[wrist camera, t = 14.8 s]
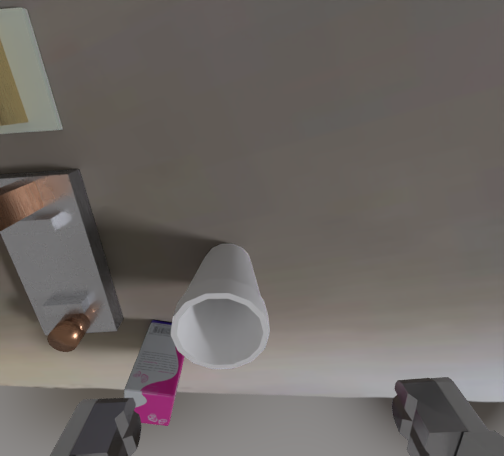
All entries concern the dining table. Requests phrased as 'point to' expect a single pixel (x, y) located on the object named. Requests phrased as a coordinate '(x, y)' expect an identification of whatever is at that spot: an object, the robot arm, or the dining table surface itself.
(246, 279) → the foam cup
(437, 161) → the dining table surface
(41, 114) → the sage mat
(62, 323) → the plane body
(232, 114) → the dining table surface
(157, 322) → the supplement box
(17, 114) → the tan upright box
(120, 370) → the dining table surface
